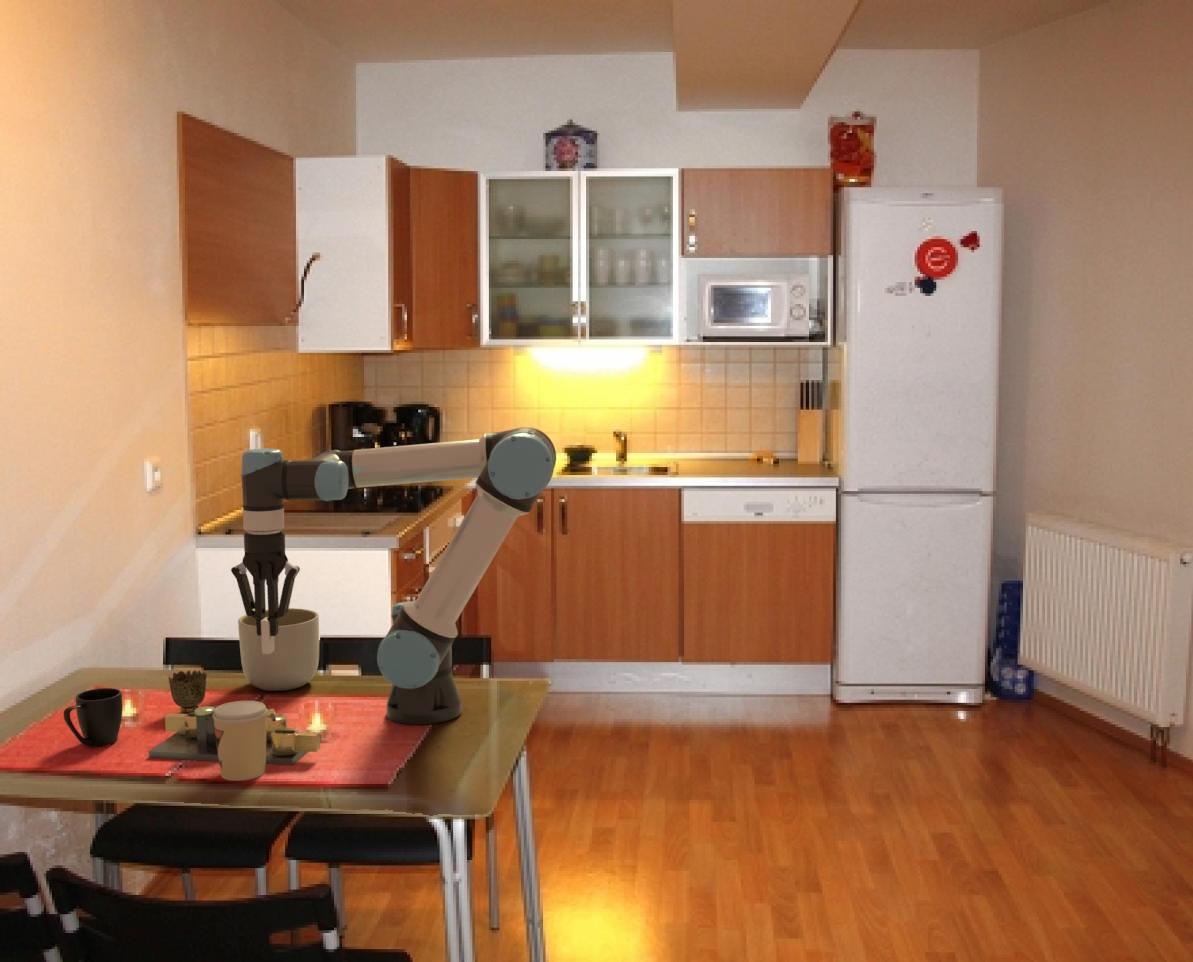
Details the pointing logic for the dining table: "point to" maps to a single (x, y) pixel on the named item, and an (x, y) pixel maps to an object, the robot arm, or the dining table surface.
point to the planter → (281, 651)
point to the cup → (188, 690)
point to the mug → (97, 716)
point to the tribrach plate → (209, 754)
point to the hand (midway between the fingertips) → (268, 651)
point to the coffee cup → (241, 739)
